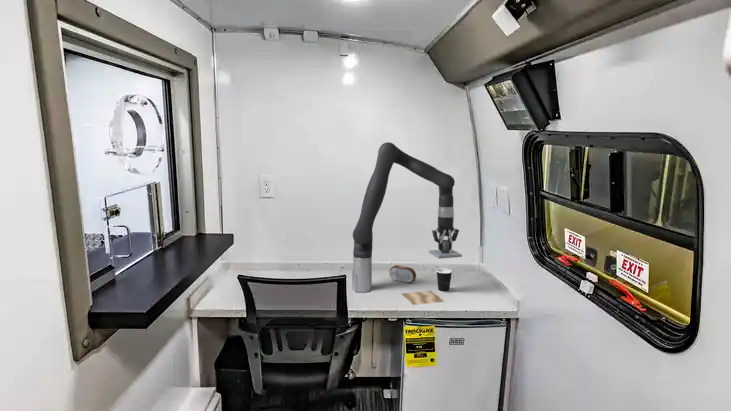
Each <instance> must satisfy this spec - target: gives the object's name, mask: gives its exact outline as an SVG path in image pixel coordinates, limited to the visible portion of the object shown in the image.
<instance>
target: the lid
mask: <svg viewBox="0 0 731 411" xmlns="http://www.w3.org/2000/svg"><path fill="white" fill-rule="evenodd" d="M442 243H443V246H442V251H440V250H439V249H431V250H429V249H428V254H430V255H432V256H433V257H435V258H437V259H452V258H453V259H454V258H462V257H463V254H462V253H459V252H458V251H455V250H454V249H451V250H449V240H448V239H443V241H442Z"/></svg>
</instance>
